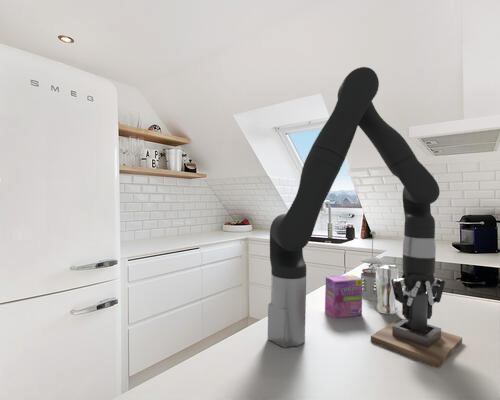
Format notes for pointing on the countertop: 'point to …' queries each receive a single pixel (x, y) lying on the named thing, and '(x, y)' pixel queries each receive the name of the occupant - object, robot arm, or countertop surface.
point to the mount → (418, 342)
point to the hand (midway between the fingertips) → (417, 317)
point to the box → (343, 296)
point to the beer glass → (386, 288)
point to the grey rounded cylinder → (419, 312)
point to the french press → (370, 276)
